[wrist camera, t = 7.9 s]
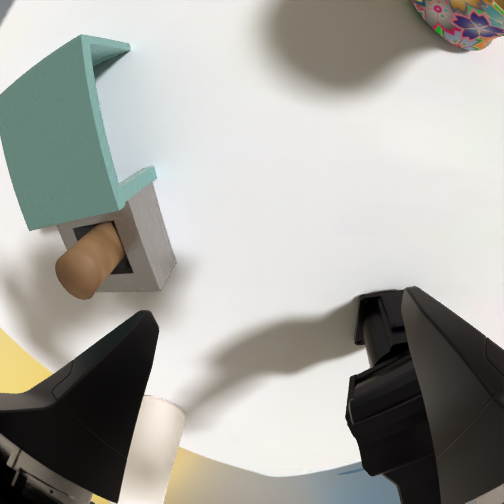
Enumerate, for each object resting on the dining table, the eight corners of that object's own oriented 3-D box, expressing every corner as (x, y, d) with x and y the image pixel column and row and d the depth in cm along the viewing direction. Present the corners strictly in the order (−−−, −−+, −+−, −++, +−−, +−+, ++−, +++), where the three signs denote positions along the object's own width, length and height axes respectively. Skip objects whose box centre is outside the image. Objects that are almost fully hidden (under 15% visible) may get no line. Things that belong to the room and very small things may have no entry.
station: (181, 262, 24) (156, 307, 19) (96, 268, 26) (65, 305, 21) (129, 43, 15) (81, 34, 10) (42, 90, 17) (-6, 100, 11)
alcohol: (149, 415, 43) (107, 549, 18) (129, 390, 39) (73, 542, 13) (193, 422, 42) (157, 569, 16) (176, 397, 37) (127, 570, 12)
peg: (147, 241, 24) (102, 299, 17) (116, 245, 24) (69, 299, 17) (135, 205, 22) (80, 254, 15) (104, 211, 22) (48, 258, 16)
